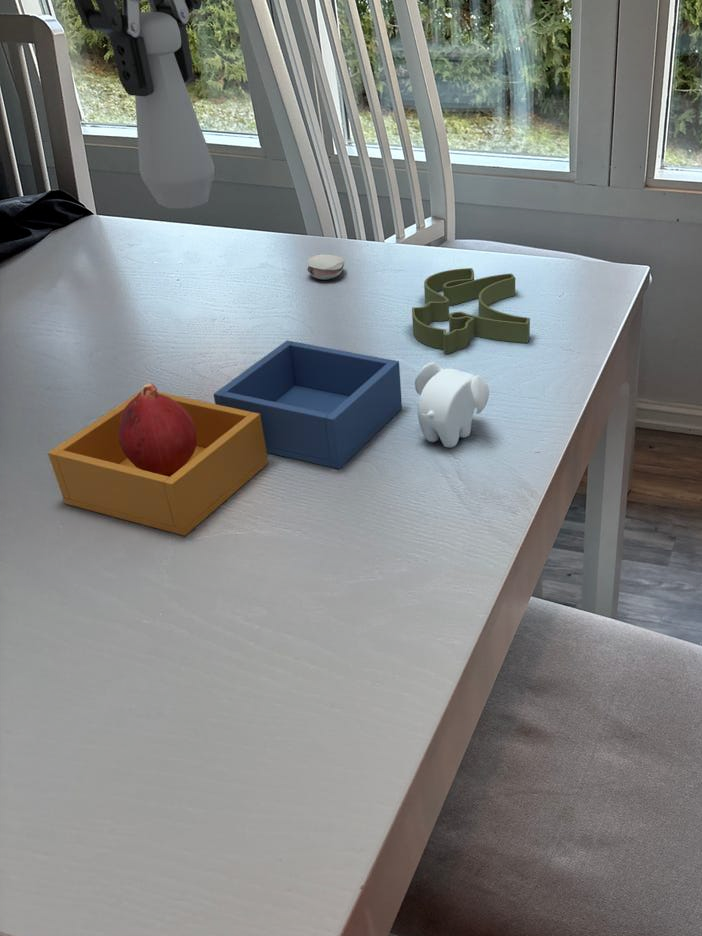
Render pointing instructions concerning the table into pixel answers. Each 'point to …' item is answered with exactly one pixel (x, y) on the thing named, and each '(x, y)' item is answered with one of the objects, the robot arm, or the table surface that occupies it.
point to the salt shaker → (170, 124)
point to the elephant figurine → (448, 402)
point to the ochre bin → (153, 495)
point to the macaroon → (325, 266)
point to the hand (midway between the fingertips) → (160, 86)
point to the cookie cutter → (463, 325)
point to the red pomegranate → (156, 432)
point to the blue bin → (317, 400)
